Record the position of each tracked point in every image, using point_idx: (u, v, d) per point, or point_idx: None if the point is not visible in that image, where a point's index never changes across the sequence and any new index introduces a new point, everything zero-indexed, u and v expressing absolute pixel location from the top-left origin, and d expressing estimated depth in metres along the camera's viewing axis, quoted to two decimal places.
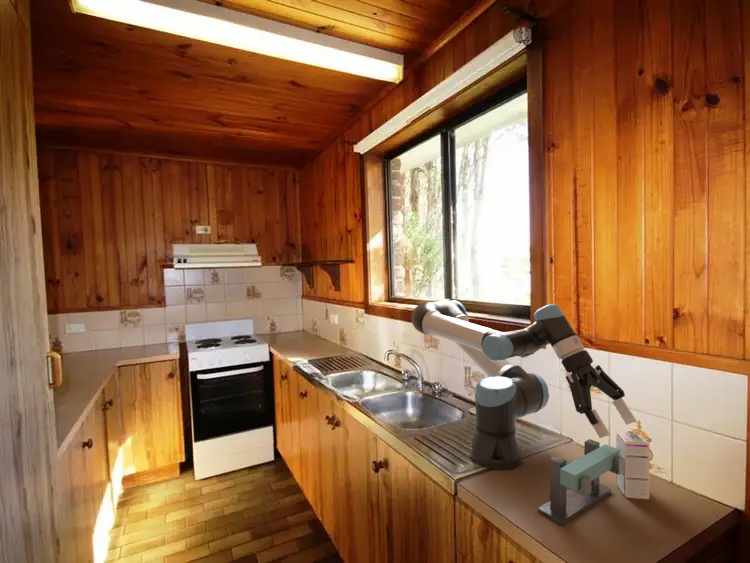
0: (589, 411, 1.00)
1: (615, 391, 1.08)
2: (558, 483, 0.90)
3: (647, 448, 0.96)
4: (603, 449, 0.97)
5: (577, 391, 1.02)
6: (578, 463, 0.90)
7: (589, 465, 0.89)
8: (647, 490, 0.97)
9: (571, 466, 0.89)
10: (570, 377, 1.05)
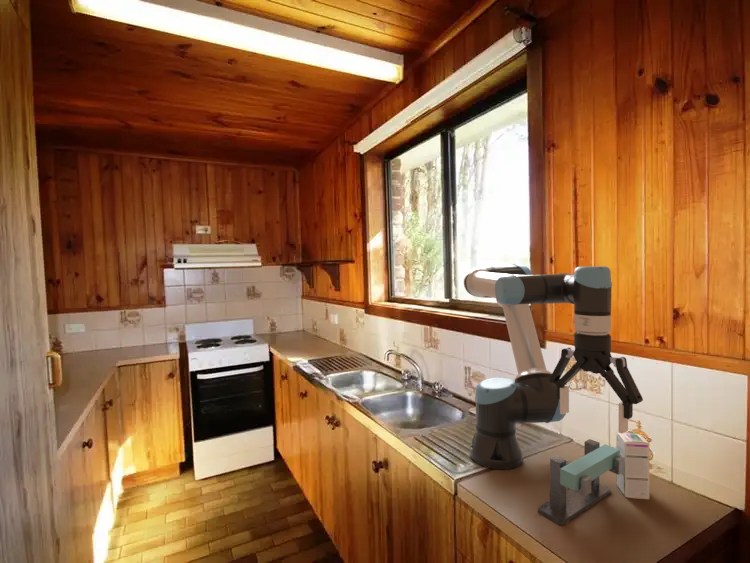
0: (557, 386, 0.98)
1: (619, 394, 0.86)
2: (558, 483, 0.90)
3: (647, 448, 0.96)
4: (603, 449, 0.97)
5: None
6: (578, 463, 0.90)
7: (589, 465, 0.89)
8: (647, 490, 0.97)
9: (571, 466, 0.89)
10: None
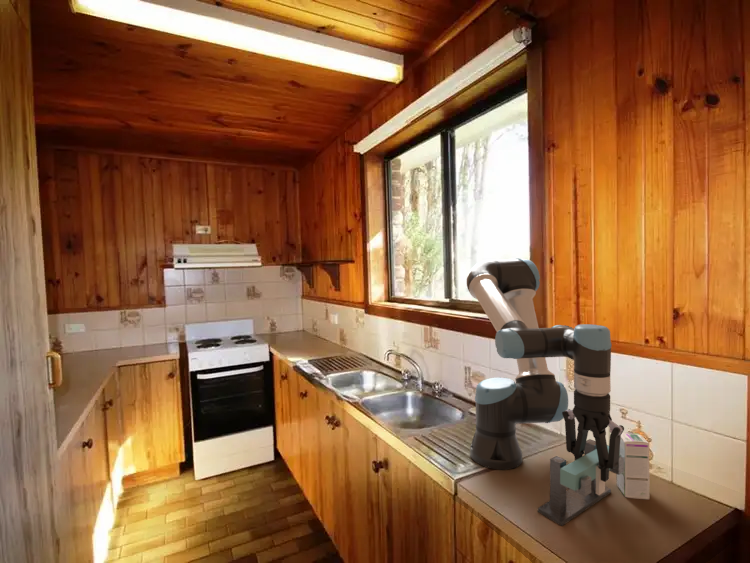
0: (576, 457, 0.95)
1: (600, 457, 0.90)
2: (558, 483, 0.90)
3: (647, 448, 0.96)
4: None
5: None
6: (578, 463, 0.90)
7: (589, 465, 0.89)
8: (647, 490, 0.97)
9: (571, 466, 0.89)
10: None
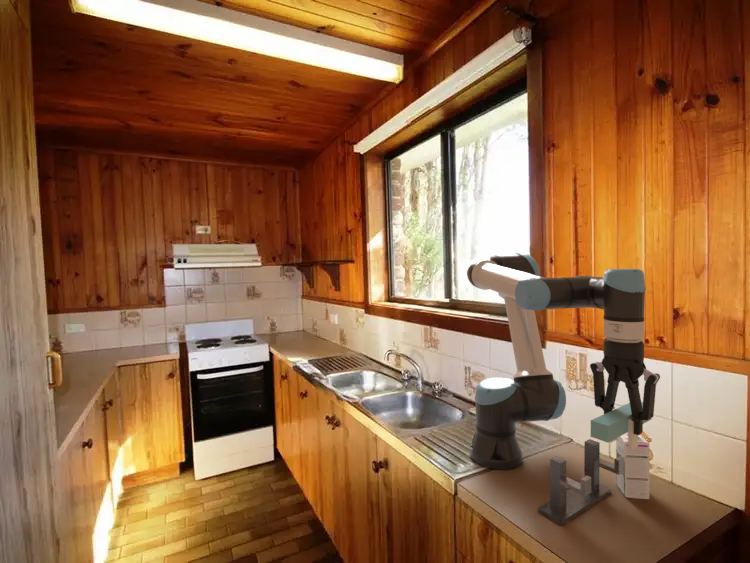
0: (606, 412, 0.88)
1: (633, 408, 0.83)
2: (558, 483, 0.90)
3: (647, 448, 0.96)
4: None
5: None
6: (610, 416, 0.84)
7: (622, 418, 0.83)
8: (647, 490, 0.97)
9: (602, 418, 0.83)
10: None
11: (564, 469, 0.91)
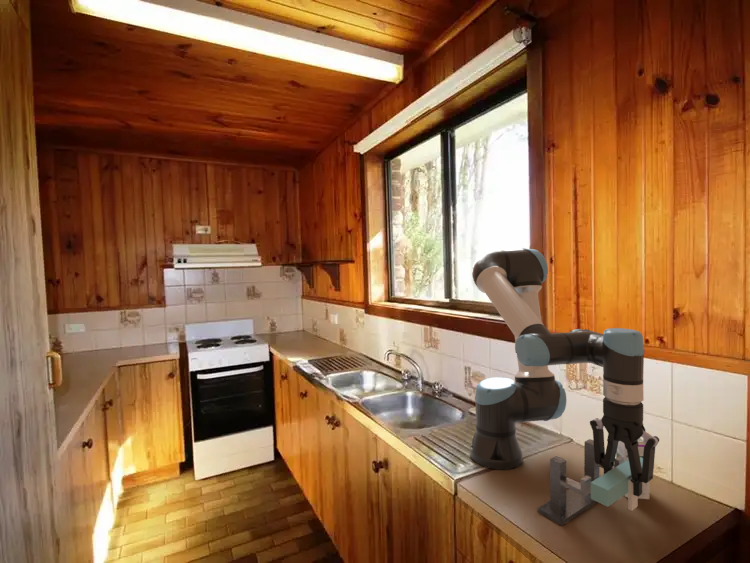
0: (606, 470, 0.89)
1: (632, 470, 0.84)
2: (558, 483, 0.90)
3: None
4: None
5: None
6: (609, 477, 0.85)
7: (621, 479, 0.84)
8: (647, 490, 0.97)
9: (602, 480, 0.84)
10: None
11: (564, 469, 0.91)
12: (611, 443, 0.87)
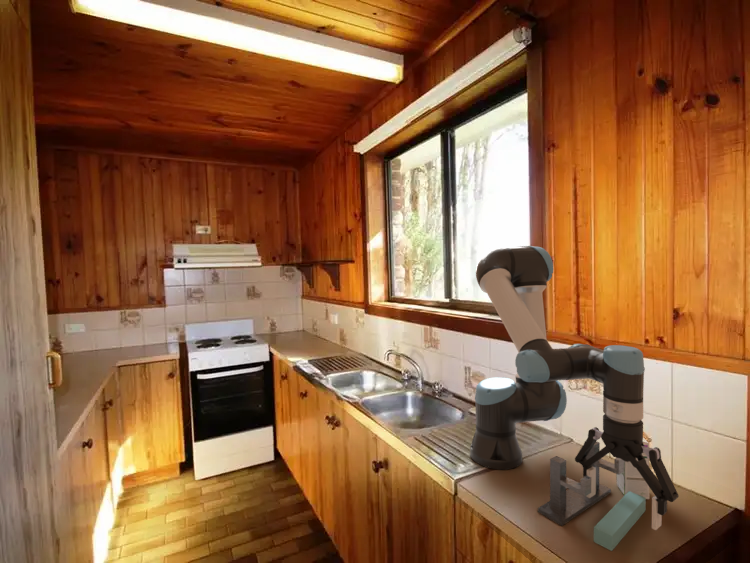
0: None
1: (652, 488, 0.81)
2: (558, 483, 0.90)
3: None
4: (629, 497, 0.92)
5: None
6: (610, 519, 0.85)
7: (622, 521, 0.84)
8: (647, 490, 0.97)
9: (604, 523, 0.84)
10: None
11: (564, 469, 0.91)
12: (602, 454, 0.89)
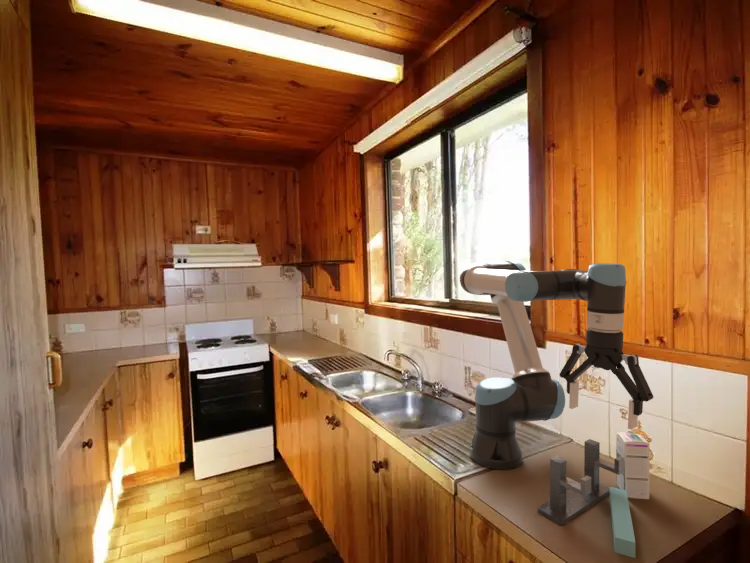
0: None
1: (630, 391, 0.87)
2: (558, 483, 0.90)
3: (647, 448, 0.96)
4: (615, 494, 0.94)
5: None
6: (620, 523, 0.84)
7: (630, 523, 0.84)
8: (647, 490, 0.97)
9: (619, 530, 0.82)
10: None
11: (564, 469, 0.91)
12: (585, 366, 0.94)
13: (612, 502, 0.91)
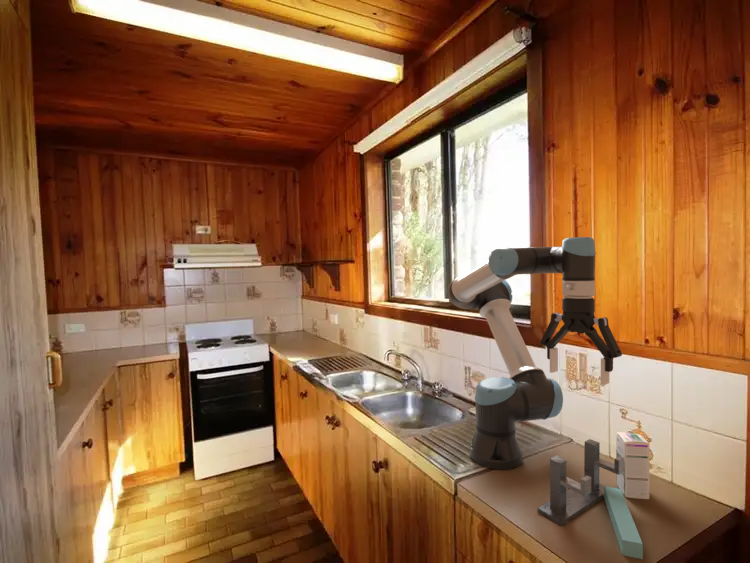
0: (547, 348, 1.09)
1: (601, 350, 0.96)
2: (558, 483, 0.90)
3: (647, 448, 0.96)
4: (611, 493, 0.94)
5: None
6: (623, 524, 0.83)
7: (633, 523, 0.84)
8: (647, 490, 0.97)
9: (624, 531, 0.81)
10: None
11: (564, 469, 0.91)
12: (562, 331, 1.04)
13: (610, 502, 0.91)
